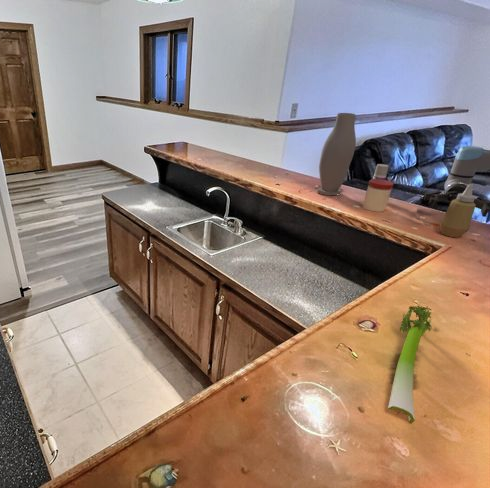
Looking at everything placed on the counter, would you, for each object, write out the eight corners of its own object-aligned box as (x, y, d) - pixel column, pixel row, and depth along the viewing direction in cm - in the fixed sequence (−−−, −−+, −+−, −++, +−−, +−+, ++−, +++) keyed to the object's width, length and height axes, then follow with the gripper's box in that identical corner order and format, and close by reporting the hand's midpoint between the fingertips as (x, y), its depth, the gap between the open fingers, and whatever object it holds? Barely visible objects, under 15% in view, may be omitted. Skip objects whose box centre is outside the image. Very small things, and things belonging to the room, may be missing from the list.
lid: (367, 187, 140) (368, 182, 139) (369, 182, 147) (370, 177, 146) (392, 190, 136) (393, 186, 135) (392, 185, 143) (393, 181, 142)
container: (381, 199, 156) (391, 165, 149) (375, 200, 154) (385, 167, 147) (371, 196, 160) (380, 163, 153) (365, 197, 157) (374, 164, 151)
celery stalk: (371, 413, 60) (395, 314, 80) (417, 439, 57) (430, 329, 77) (387, 393, 56) (408, 295, 77) (437, 419, 53) (445, 310, 74)
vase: (329, 187, 170) (346, 111, 155) (350, 195, 160) (371, 114, 144) (307, 190, 166) (323, 112, 150) (328, 199, 155) (347, 115, 140)
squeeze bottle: (435, 228, 127) (454, 180, 119) (463, 233, 124) (484, 183, 116) (437, 236, 121) (457, 186, 113) (466, 241, 118) (489, 190, 109)
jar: (385, 207, 147) (393, 182, 142) (384, 213, 140) (392, 188, 136) (363, 203, 151) (369, 179, 146) (361, 209, 144) (368, 184, 140)
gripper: (495, 209, 128) (503, 227, 113) (415, 195, 141) (412, 210, 126) (504, 189, 125) (514, 205, 109) (421, 177, 138) (419, 190, 122)
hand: (459, 208), depth 118 cm, fingers open, 13 cm apart
